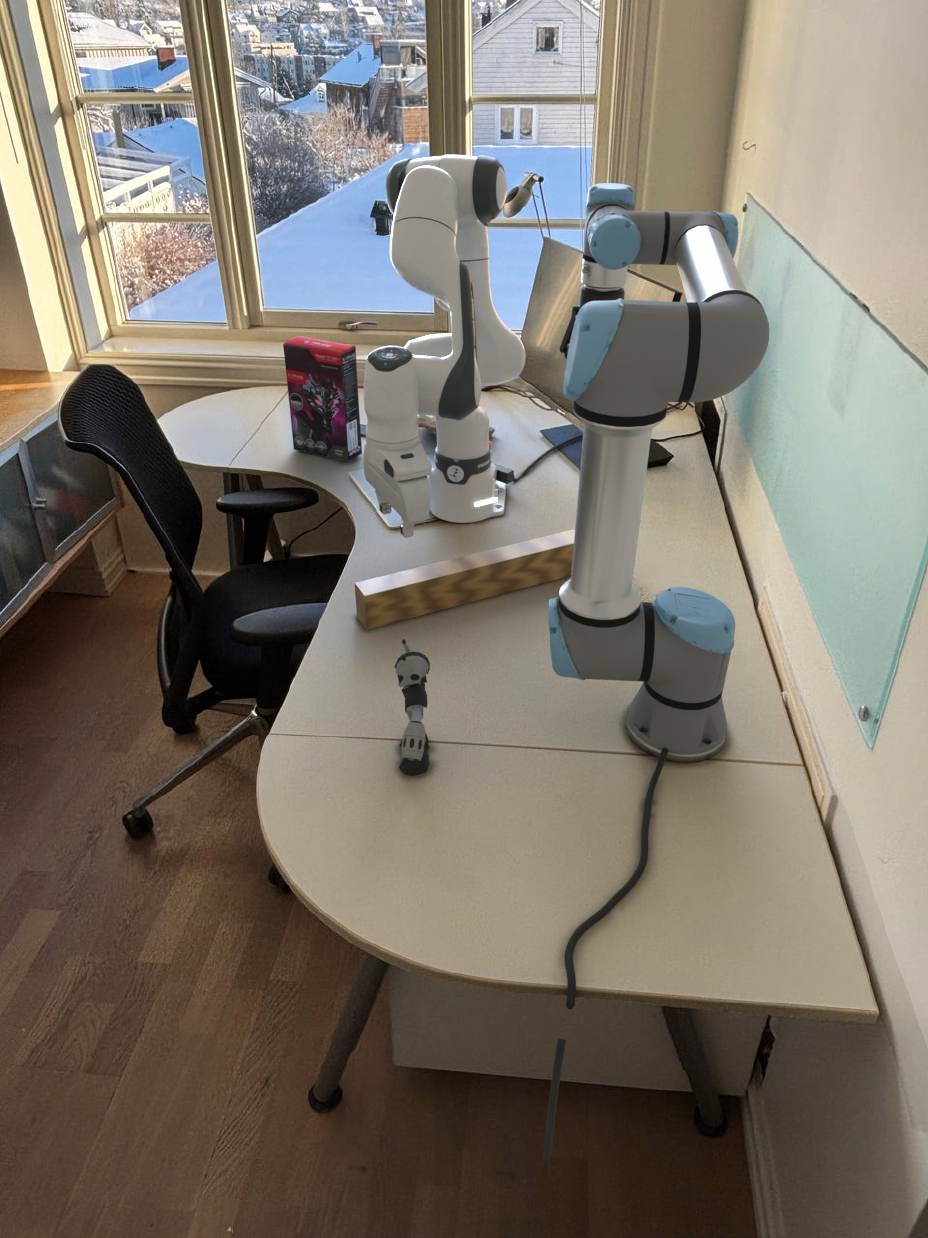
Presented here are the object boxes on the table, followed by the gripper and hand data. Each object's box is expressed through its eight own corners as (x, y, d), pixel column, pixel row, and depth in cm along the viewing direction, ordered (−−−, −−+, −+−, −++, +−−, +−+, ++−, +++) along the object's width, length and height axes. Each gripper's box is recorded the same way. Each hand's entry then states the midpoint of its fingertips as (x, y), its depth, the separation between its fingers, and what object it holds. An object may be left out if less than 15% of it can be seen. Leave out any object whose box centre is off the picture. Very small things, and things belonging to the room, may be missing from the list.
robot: (432, 803, 130) (430, 691, 118) (397, 804, 129) (392, 692, 118) (430, 713, 146) (428, 607, 135) (399, 714, 146) (394, 608, 134)
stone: (398, 433, 232) (403, 409, 229) (417, 425, 245) (422, 402, 243) (477, 457, 228) (483, 433, 226) (491, 447, 242) (497, 425, 239)
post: (601, 552, 189) (604, 521, 185) (615, 563, 186) (618, 531, 181) (356, 616, 169) (354, 582, 165) (366, 630, 165) (364, 595, 161)
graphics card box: (291, 450, 230) (280, 341, 215) (307, 440, 235) (297, 333, 220) (348, 464, 224) (341, 353, 209) (364, 454, 229) (358, 344, 214)
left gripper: (352, 430, 158) (357, 502, 166) (399, 476, 143) (402, 553, 151) (386, 424, 161) (389, 495, 168) (436, 469, 146) (437, 545, 153)
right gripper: (545, 270, 162) (538, 387, 174) (627, 307, 144) (614, 435, 156) (581, 266, 165) (572, 381, 177) (666, 301, 146) (650, 427, 158)
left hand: (396, 523), depth 160 cm, fingers open, 8 cm apart
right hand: (591, 407), depth 166 cm, fingers open, 13 cm apart
